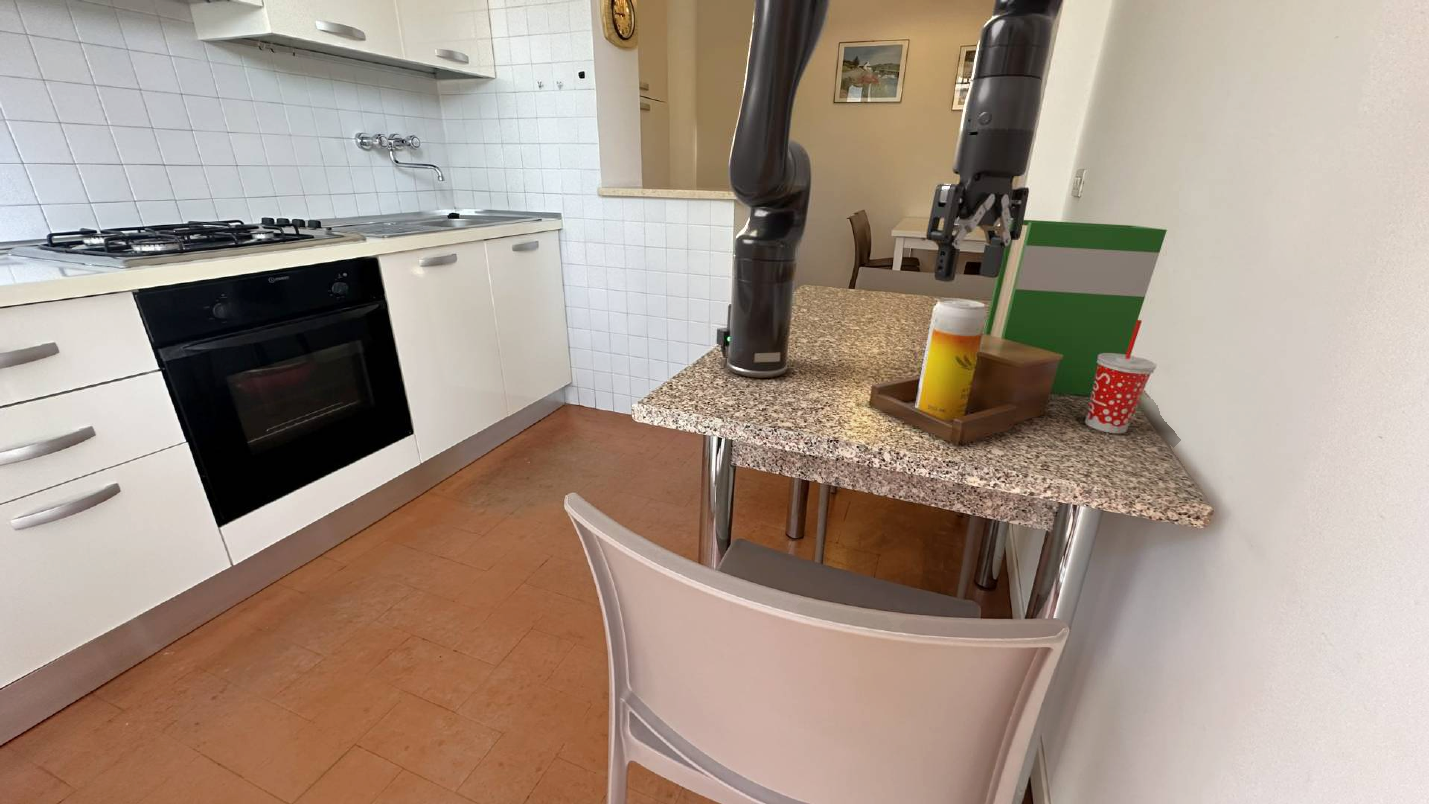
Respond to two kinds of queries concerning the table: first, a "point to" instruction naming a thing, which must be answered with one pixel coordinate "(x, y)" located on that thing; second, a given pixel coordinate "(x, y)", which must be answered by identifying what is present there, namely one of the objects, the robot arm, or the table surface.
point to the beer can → (950, 357)
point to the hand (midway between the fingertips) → (966, 278)
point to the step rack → (981, 392)
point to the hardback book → (1074, 293)
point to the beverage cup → (1118, 388)
